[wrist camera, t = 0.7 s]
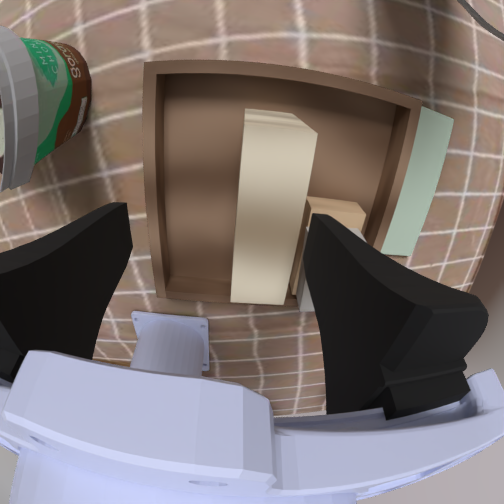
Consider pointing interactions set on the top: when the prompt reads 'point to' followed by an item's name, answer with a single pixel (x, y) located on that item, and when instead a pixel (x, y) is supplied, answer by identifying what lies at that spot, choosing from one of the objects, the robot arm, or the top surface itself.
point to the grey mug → (481, 20)
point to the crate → (229, 153)
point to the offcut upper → (302, 287)
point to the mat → (419, 182)
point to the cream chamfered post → (269, 204)
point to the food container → (38, 102)
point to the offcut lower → (338, 209)
